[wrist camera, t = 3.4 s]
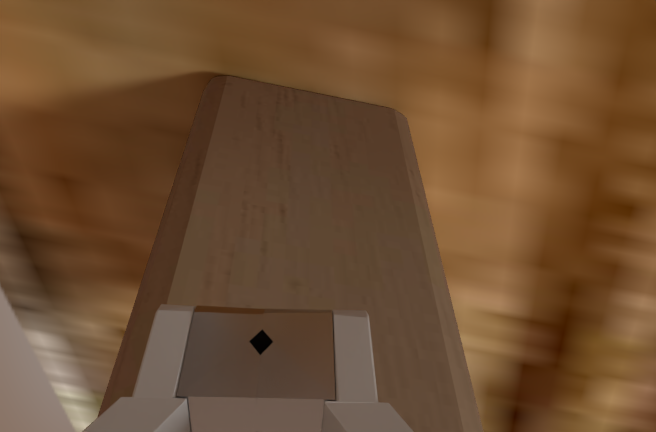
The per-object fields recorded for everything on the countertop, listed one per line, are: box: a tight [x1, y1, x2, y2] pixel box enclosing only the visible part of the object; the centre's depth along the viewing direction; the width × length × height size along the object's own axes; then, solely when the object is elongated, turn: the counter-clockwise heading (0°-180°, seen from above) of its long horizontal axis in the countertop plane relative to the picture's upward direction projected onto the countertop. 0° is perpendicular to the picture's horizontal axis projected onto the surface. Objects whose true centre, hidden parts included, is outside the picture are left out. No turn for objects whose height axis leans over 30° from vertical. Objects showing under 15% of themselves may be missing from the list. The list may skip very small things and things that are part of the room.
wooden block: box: [97, 76, 483, 432], centre depth 25 cm, size 10×10×20 cm
